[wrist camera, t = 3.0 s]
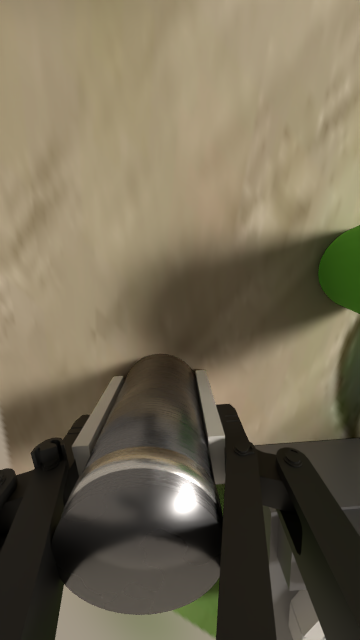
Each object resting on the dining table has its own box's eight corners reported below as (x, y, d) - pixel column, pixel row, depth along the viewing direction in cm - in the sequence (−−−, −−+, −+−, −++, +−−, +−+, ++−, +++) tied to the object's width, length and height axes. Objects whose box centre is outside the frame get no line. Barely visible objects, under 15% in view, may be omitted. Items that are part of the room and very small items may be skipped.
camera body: (245, 446, 18) (291, 563, 11) (399, 435, 18) (548, 544, 11) (245, 579, 21) (279, 733, 14) (373, 570, 21) (471, 718, 14)
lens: (120, 356, 16) (30, 493, 6) (195, 350, 16) (226, 478, 6) (129, 422, 17) (68, 622, 7) (199, 416, 17) (230, 610, 7)
